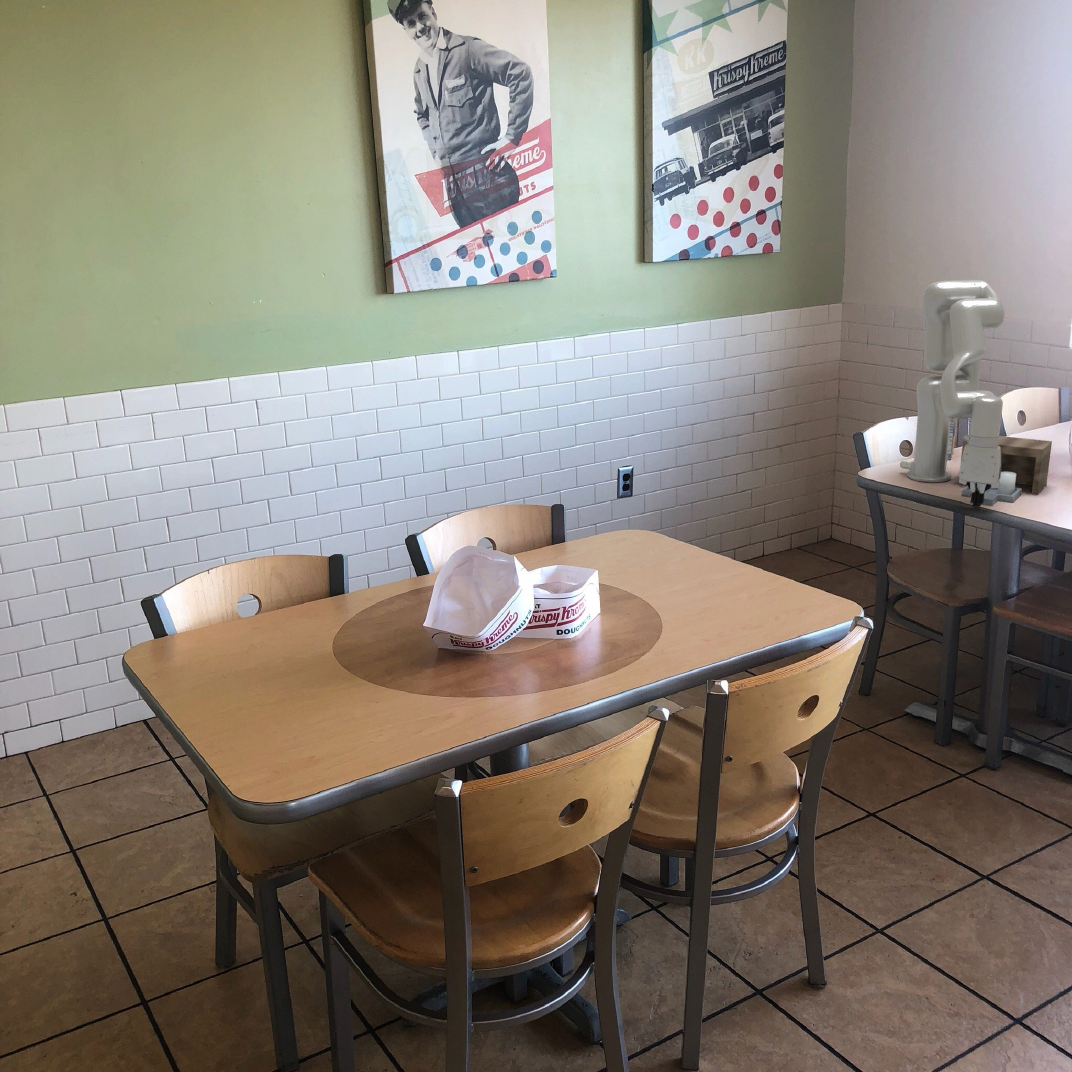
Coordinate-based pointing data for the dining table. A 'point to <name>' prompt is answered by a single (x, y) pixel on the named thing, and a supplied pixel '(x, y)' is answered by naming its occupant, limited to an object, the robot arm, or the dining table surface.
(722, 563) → the dining table surface
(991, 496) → the glasses tray
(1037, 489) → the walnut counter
